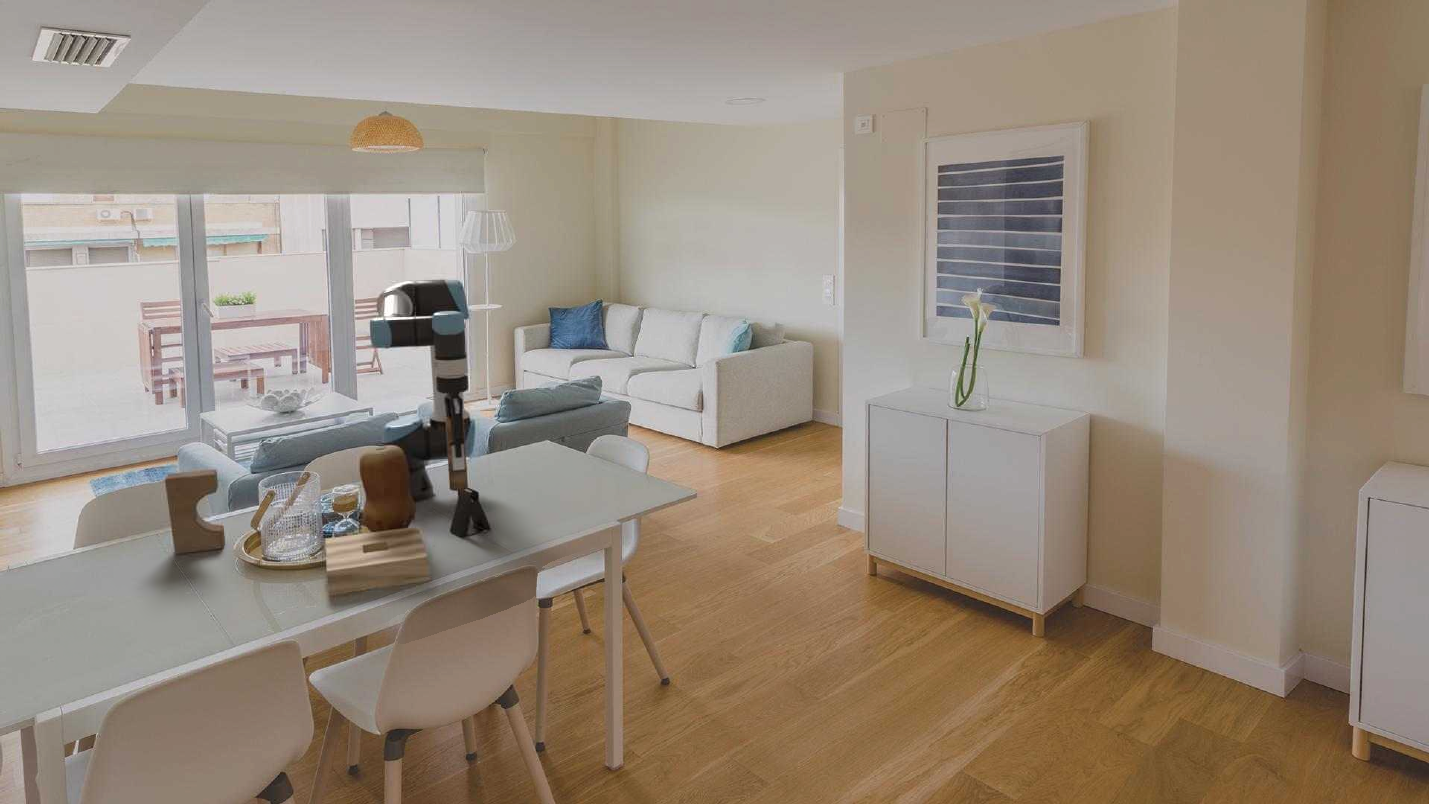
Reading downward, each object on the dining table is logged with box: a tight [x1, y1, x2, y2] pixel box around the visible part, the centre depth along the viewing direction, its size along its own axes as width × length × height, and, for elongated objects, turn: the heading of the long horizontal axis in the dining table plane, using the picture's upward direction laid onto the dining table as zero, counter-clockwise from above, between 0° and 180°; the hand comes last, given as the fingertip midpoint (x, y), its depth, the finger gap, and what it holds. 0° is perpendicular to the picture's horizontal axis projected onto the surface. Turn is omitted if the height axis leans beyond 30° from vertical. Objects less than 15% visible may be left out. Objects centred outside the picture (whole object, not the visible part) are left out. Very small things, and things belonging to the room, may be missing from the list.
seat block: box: [324, 526, 430, 597], centre depth 226 cm, size 22×22×6 cm
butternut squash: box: [358, 445, 417, 533], centre depth 246 cm, size 14×13×25 cm
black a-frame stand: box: [449, 487, 492, 539], centre depth 252 cm, size 9×6×12 cm, turn 135°
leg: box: [445, 418, 469, 492], centre depth 233 cm, size 4×4×18 cm
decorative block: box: [164, 468, 226, 555], centre depth 239 cm, size 11×6×20 cm, turn 111°
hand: (457, 466), depth 234 cm, fingers closed on leg, 4 cm apart
